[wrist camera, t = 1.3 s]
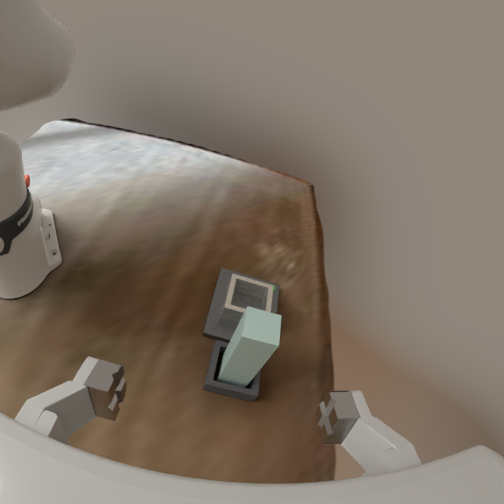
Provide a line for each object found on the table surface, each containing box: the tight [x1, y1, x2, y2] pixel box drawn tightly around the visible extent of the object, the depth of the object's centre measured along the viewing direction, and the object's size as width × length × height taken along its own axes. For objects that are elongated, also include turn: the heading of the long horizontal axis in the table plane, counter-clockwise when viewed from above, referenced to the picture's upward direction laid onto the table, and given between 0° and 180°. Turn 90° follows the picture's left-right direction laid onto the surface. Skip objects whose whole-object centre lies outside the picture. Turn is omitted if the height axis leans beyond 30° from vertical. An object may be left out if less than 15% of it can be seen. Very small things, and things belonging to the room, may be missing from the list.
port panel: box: [202, 268, 279, 343], centre depth 48 cm, size 14×11×4 cm
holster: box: [203, 340, 262, 401], centre depth 39 cm, size 7×7×2 cm
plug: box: [217, 306, 281, 388], centre depth 36 cm, size 4×4×14 cm
